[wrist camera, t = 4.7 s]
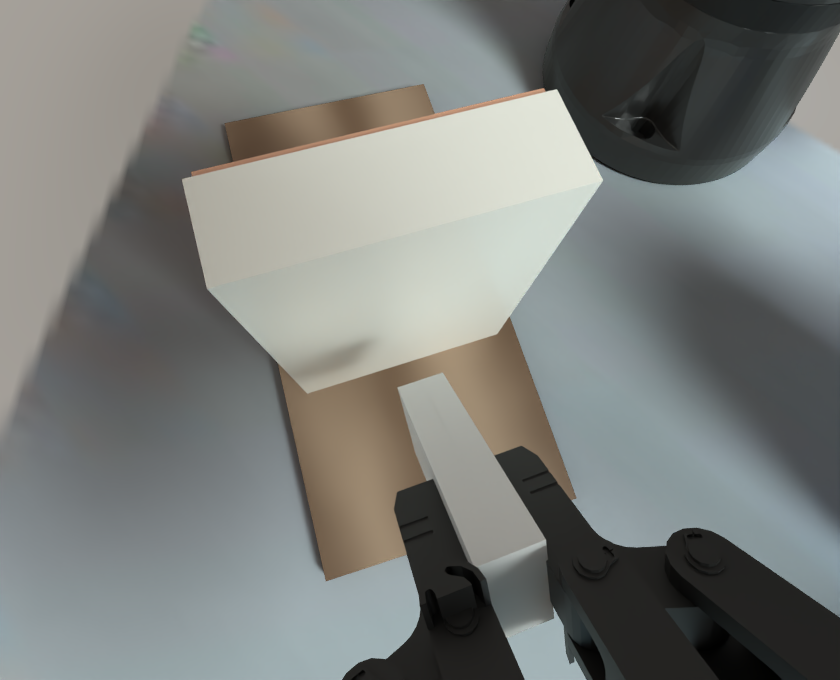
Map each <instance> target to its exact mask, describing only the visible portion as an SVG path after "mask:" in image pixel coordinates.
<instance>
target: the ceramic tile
mask: <svg viewBox="0 0 840 680" xmlns="http://www.w3.org/2000/svg"><path fill="white" fill-rule="evenodd" d="M191 174H192V177H188V178H184V179H182V182H183V186H184V191H185V195H186V200H187V204H188V208H189V213H190V217H191V221H192V226H193V230H194V234H195V239H196V243H197V247H198V252H199V256H200V261H201V265H202V269H203V274H204V278H205V282H206V287H207V289H208V290H209V291H210V292H211V294H212V295H213V296H214V297H215V298H216V299H217V300H218V301H219V302H220V303H221V304H222V305H223V306H224V307H225V308H226V309H227V310H228V311H229V312H230V313H231V314H232V315H233V317H234V318H235V319H236V320H237V321H238V322H239V323H240V324H241V325H242V326H243V327H244V328H245V329H246V330H247V331H248V332H249V333H250V334H251V335H252V336H253V337H254V338H255V340H256V341H257V342H258V343H259V344H260V345H261V346H262V347H263V348H264V349H265V350H266V351H267V352H268V353H269V354H270V355H271V356H272V357H273V358H274V359H275V360H276V361H277V363H278V364H279V365H280V366H281V367H282V368H283V369H284V370H285V371H286V372H287V373H288V374H289V375H290V376H291V377H292V378H293V379H294V380H295V381H296V382H297V383H298V384H299V386H300V387H301V388H302V389H303V390H304V391H305V392H306V393H307V394H308V393H311V392H314V391H317V390H321V389H324V388H327V387H330V386H333V385H337V384H340V383H343V382H346V381H349V380H353V379H356V378H359V377H362V376H365V375H368V374H372V373H375V372H378V371H381V370H384V369H388V368H391V367H394V366H397V365H400V364H404V363H407V362H410V361H413V360H416V359H420V358H423V357H426V356H429V355H432V354H436V353H439V352H442V351H445V350H448V349H451V348H455V347H458V346H461V345H464V344H467V343H471V342H474V341H477V340H480V339H483V338H487V337H490V336H493V335H496V334H498V332H499V331H500V329H501V328H502V326H503V325H504V323H505V322H506V321H507V319H508V318H509V316H510V315H511V313H512V312H513V310H514V309H515V308H516V306H517V305H518V303H519V302H520V300H521V299H522V297H523V296H524V295H525V293H526V292H527V290H528V289H529V287H530V286H531V284H532V283H533V281H534V280H535V279H536V277H537V276H538V274H539V273H540V271H541V270H542V268H543V267H544V266H545V264H546V263H547V261H548V260H549V258H550V257H551V255H552V254H553V253H554V251H555V250H556V248H557V247H558V245H559V244H560V242H561V241H562V239H563V238H564V237H565V235H566V234H567V232H568V231H569V229H570V228H571V226H572V225H573V224H574V222H575V221H576V219H577V218H578V216H579V215H580V213H581V212H582V211H583V209H584V208H585V206H586V205H587V203H588V202H589V200H590V199H591V197H592V196H593V195H594V193H595V192H596V190H597V189H598V187H599V186H600V184H601V183H602V182H603V179H602V177H601V175H600V173H599V171H598V169H597V167H596V165H595V163H594V161H593V159H592V157H591V155H590V153H589V152H588V150H587V148H586V146H585V144H584V142H583V140H582V138H581V136H580V134H579V132H578V130H577V128H576V126H575V124H574V122H573V120H572V118H571V116H570V114H569V112H568V110H567V108H566V106H565V104H564V102H563V100H562V98H561V96H560V94H559V92H558V90H557V89H556V90H551V91H547V92H545V90H544V88H542V89H538V90H534V91H529V92H525V93H521V94H517V95H513V96H508V97H504V98H500V99H496V100H492V101H487V102H483V103H479V104H475V105H471V106H466V107H462V108H458V109H454V110H450V111H445V112H441V113H437V114H433V115H429V116H424V117H420V118H416V119H412V120H408V121H403V122H399V123H395V124H391V125H387V126H382V127H378V128H374V129H370V130H366V131H361V132H357V133H353V134H349V135H345V136H340V137H336V138H332V139H328V140H324V141H319V142H315V143H311V144H307V145H303V146H298V147H294V148H290V149H286V150H281V151H277V152H273V153H269V154H265V155H260V156H256V157H252V158H248V159H244V160H239V161H235V162H231V163H227V164H223V165H218V166H214V167H210V168H206V169H202V170H197V171H193V172H191Z"/></svg>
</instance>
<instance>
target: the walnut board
mask: <svg viewBox="0 0 840 680" xmlns="http://www.w3.org/2000/svg"><path fill="white" fill-rule="evenodd" d="M433 114H435V113H434V111H433V108H432V105H431V102H430V100H429V97H428V94H427V92H426V89H425V86H424V84H422V85H417V86H412V87H407V88H402V89H396V90H391V91H386V92H381V93H376V94H371V95H366V96H361V97H356V98H351V99H346V100H341V101H336V102H330V103H325V104H320V105H315V106H310V107H305V108H300V109H295V110H290V111H285V112H280V113H275V114H270V115H264V116H259V117H254V118H249V119H244V120H239V121H234V122H229V123H225V127H226V132H227V136H228V141H229V146H230V150H231V155H232V159H233V162H235V161H239V160H244V159H248V158H252V157H256V156H260V155H265V154H269V153H273V152H277V151H281V150H286V149H290V148H294V147H298V146H303V145H307V144H311V143H315V142H319V141H324V140H328V139H332V138H336V137H340V136H345V135H349V134H353V133H357V132H361V131H366V130H370V129H374V128H378V127H382V126H387V125H391V124H395V123H399V122H403V121H408V120H412V119H416V118H420V117H424V116H429V115H433ZM278 367H279V371H280V376H281V381H282V385H283V390H284V394H285V399H286V403H287V408H288V412H289V417H290V421H291V426H292V430H293V435H294V439H295V444H296V448H297V453H298V457H299V462H300V466H301V471H302V475H303V480H304V484H305V489H306V494H307V498H308V503H309V507H310V512H311V516H312V521H313V525H314V530H315V534H316V539H317V543H318V548H319V552H320V557H321V561H322V566H323V570H324V575H325V579H326V581H328V580H331V579H334V578H337V577H340V576H343V575H346V574H349V573H352V572H356V571H359V570H362V569H365V568H368V567H371V566H374V565H377V564H380V563H383V562H386V561H389V560H392V559H395V558H398V557H401V556H404V555H407V553H406V550H405V546H404V543H403V539H402V536H401V533H400V529H399V526H398V522H397V519H396V515H395V512H394V506H395V500H396V495H397V492H398V491H401V490H403V489H406V488H409V487H412V486H414V485H417V484H420V483H423V482H426V478H425V476H424V473H423V471H422V468H421V466H420V463H419V461H418V458H417V456H416V453H415V450H414V446H413V443H412V439H411V435H410V432H409V428H408V424H407V421H406V417H405V414H404V410H403V406H402V403H401V399H400V395H399V392H398V388H397V387H400V386H403V385H406V384H409V383H412V382H416V381H419V380H422V379H425V378H428V377H431V376H434V375H437V374H440V373H443V374H444V375H445V377H446V379H447V380H448V382H449V383H450V385H451V387H452V388H453V390H454V392H455V393H456V395H457V396H458V398H459V400H460V401H461V403H462V405H463V406H464V408H465V409H466V411H467V413H468V414H469V416H470V417H471V419H472V421H473V422H474V424H475V426H476V427H477V429H478V430H479V432H480V434H481V435H482V437H483V439H484V440H485V442H486V443H487V445H488V447H489V448H490V450H491V451H492V453H493V455H497V454H500V453H502V452H505V451H508V450H511V449H513V448H516V447H519V446H523V447H525V448H526V449H528V450H530V451H531V452H533V453H535V454H536V455H538V456H539V458H540V459H541V460H542V462H543V463H544V464H545V466H546V467H547V468H548V470H549V472H550V473H551V474H552V475H553V477H554V478H555V479H556V481H557V483H558V485H560V486H561V487H562V489H563V490H564V491H565V493H566V494H567V495H568V497H569V498H570V500H573V499H576V496H575V493H574V490H573V487H572V485H571V482H570V479H569V477H568V474H567V471H566V468H565V466H564V463H563V460H562V458H561V455H560V452H559V449H558V447H557V444H556V441H555V439H554V436H553V433H552V430H551V428H550V425H549V422H548V420H547V417H546V414H545V411H544V409H543V406H542V403H541V401H540V398H539V395H538V393H537V390H536V387H535V384H534V382H533V379H532V376H531V374H530V371H529V368H528V365H527V363H526V360H525V357H524V355H523V352H522V349H521V346H520V344H519V341H518V338H517V336H516V333H515V330H514V327H513V325H512V322H511V319H510V317H509V318H508V319H507V321H506V322H505V323H504V325H503V326H502V328H501V329H500V331H499V332H498V334H496V335H493V336H490V337H487V338H483V339H480V340H477V341H474V342H471V343H467V344H464V345H461V346H458V347H455V348H451V349H448V350H445V351H442V352H439V353H436V354H432V355H429V356H426V357H423V358H420V359H416V360H413V361H410V362H407V363H404V364H400V365H397V366H394V367H391V368H388V369H384V370H381V371H378V372H375V373H372V374H368V375H365V376H362V377H359V378H356V379H353V380H349V381H346V382H343V383H340V384H337V385H333V386H330V387H327V388H324V389H321V390H317V391H314V392H311V393H308V394H307V393H306V392H305V391H304V390H303V389H302V388H301V387H300V386H299V384H298V383H297V382H296V381H295V380H294V379H293V378H292V377H291V376H290V375H289V374H288V373H287V372H286V371H285V370H284V369H283V368H282V367H281V366H280V365H279V364H278Z"/></svg>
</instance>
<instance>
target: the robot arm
mask: <svg viewBox="0 0 840 680" xmlns="http://www.w3.org/2000/svg"><path fill="white" fill-rule="evenodd" d="M839 32H840V0H568V1H567V3H566V4H565V6H564V8H563V9H562V11H561V13H560V15H559V17H558V19H557V22H556V25H555V27H554V30H553V33H552V36H551V39H550V41H549V44H548V47H547V50H546V53H545V57H544V63H543V81H544V87H545V92H547V91H551V90H556V89H557V90H558V92H559V94H560V96H561V98H562V100H563V102H564V104H565V106H566V108H567V110H568V112H569V114H570V116H571V118H572V120H573V122H574V124H575V126H576V128H577V130H578V132H579V134H580V136H581V138H582V140H583V142H584V144H585V146H586V148H587V150H588V152H589V153H590V154H591V155H592V156H594V157H595V158H596V159H598V160H599V161H601V162H603V163H604V164H606V165H608V166H610V167H612V168H614V169H616V170H618V171H620V172H622V173H625V174H627V175H630V176H633V177H636V178H639V179H642V180H646V181H650V182H655V183H662V184H671V185H691V184H700V183H706V182H711V181H714V180H718V179H721V178H723V177H726V176H728V175H730V174H732V173H734V172H736V171H738V170H739V169H741V168H742V167H744V166H745V165H746V164H748V163H749V162H750V161H751V160H752V159H753V158H754V157H756V156H757V155H758V154H759V153H760V152H761V151H762V150H763V149H764V148H765V147H767V146H768V145H769V144H770V143H771V142H772V141H773V140H774V139H775V138H776V137H777V136H778V135H779V134H780V133H781V131H782V130H783V129H784V128H785V126H786V125H787V124H788V122H789V121H790V119H791V117H792V115H793V114H794V112H795V109H796V106H797V105H798V103H799V101H800V100H801V98H802V97H803V95H804V93H805V92H806V90H807V88H808V87H809V85H810V83H811V82H812V80H813V78H814V77H815V75H816V73H817V71H818V70H819V68H820V66H821V65H822V63H823V61H824V59H825V58H826V56H827V54H828V52H829V51H830V49H831V47H832V45H833V43H834V42H835V40H836V38H837V36H838V35H839ZM397 388H398V392H399V395H400V399H401V403H402V406H403V410H404V414H405V417H406V421H407V424H408V428H409V432H410V435H411V439H412V443H413V446H414V450H415V453H416V456H417V458H418V461H419V463H420V466H421V468H422V471H423V473H424V476H425V478H426V482H423V483H420V484H417V485H414V486H412V487H409V488H406V489H403V490H401V491H398V492H397V495H396V500H395V506H394V512H395V515H396V519H397V522H398V526H399V529H400V533H401V536H402V539H403V543H404V546H405V550H406V553H407V556H408V560H409V563H410V567H411V570H412V574H413V577H414V580H415V584H416V587H417V591H418V594H419V601H420V608H421V609H420V617H419V621H418V624H417V627H416V628H415V630H414V632H413V633H412V635H411V637H410V638H409V639H408V640H407V641H406V642H405V643H404V644H403V645H402V646H401V647H400V648H399V649H397V650H396V651H395V652H394V653H393V654H392V655H390V656H389V657H388V658H387V659H386V660H385V659H375V658H371V659H368V660H365V661H362V662H360V663H358V664H357V665H355V666H354V667H353V668H352V669H351V670H349V671H348V672H347V673H346V675H345V676H344V678H343V679H342V680H524V677H523V675H522V673H521V670H520V668H519V666H518V663H517V661H516V659H515V657H514V654H513V652H512V650H511V647H510V645H509V643H508V640H507V638H508V637H511V636H513V635H515V634H518V633H520V632H522V631H525V630H527V629H530V628H532V627H534V626H537V625H539V624H541V623H544V622H546V621H549V620H551V619H553V618H554V612H553V607H554V609H555V611H556V612H557V614H558V616H559V618H560V620H561V621H562V623H563V625H564V634H565V646H566V654H567V657H568V660H569V663H570V664H571V663H573V662H574V657H575V659H576V661H577V663H578V664H579V666H580V668H581V670H582V672H583V674H584V676H585V677H586V679H587V680H840V618H839V617H838V616H837V615H835V614H834V613H832V612H831V611H829V610H828V609H826V608H825V607H824V606H822V605H821V604H819V603H818V602H816V601H815V600H813V599H812V598H811V597H809V596H808V595H806V594H805V593H803V592H802V591H800V590H799V589H798V588H796V587H795V586H793V585H792V584H790V583H789V582H787V581H786V580H785V579H783V578H782V577H780V576H779V575H777V574H776V573H774V572H773V571H772V570H770V569H769V568H767V567H766V566H764V565H763V564H761V563H760V562H759V561H757V560H756V559H754V558H753V557H751V556H750V555H748V554H747V553H746V552H744V551H743V550H741V549H740V548H738V547H737V546H735V545H734V544H733V543H731V542H730V541H728V540H727V539H725V538H723V537H722V536H720V535H718V534H716V533H714V532H712V531H708V530H704V529H700V528H686V529H682V530H679V531H677V532H675V533H673V534H672V535H671V537H670V538H669V539H668V541H667V545H666V546H657V547H639V548H634V547H624V546H620V545H616V544H613V543H612V542H610V541H608V540H605V539H604V538H602V537H601V536H599V535H598V534H597V533H596V532H595V531H594V530H593V529H592V528H591V527H590V525H589V524H588V522H587V521H586V520H585V518H584V517H583V516H582V514H581V513H580V512H579V510H578V509H577V508H576V506H575V505H574V504H573V502H572V501H571V500H570V498H569V497H568V495H567V494H566V493H565V491H564V490H563V489H562V487H561V486H560V485H558V483H557V481H556V479H555V478H554V477H553V475H552V474H551V473H550V472H549V470H548V468H547V467H546V466H545V464H544V463H543V462H542V460H541V459H540V458H539V456H538V455H536V454H535V453H533V452H531V451H530V450H528V449H526V448H525V447H523V446H519V447H516V448H513V449H511V450H508V451H505V452H502V453H500V454H497V455H493V453H492V451H491V450H490V448H489V447H488V445H487V443H486V442H485V440H484V439H483V437H482V435H481V434H480V432H479V430H478V429H477V427H476V426H475V424H474V422H473V421H472V419H471V417H470V416H469V414H468V413H467V411H466V409H465V408H464V406H463V405H462V403H461V401H460V400H459V398H458V396H457V395H456V393H455V392H454V390H453V388H452V387H451V385H450V383H449V382H448V380H447V379H446V377H445V375H444V374H443V373H440V374H437V375H434V376H431V377H428V378H425V379H422V380H419V381H416V382H412V383H409V384H406V385H403V386H400V387H397Z"/></svg>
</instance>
